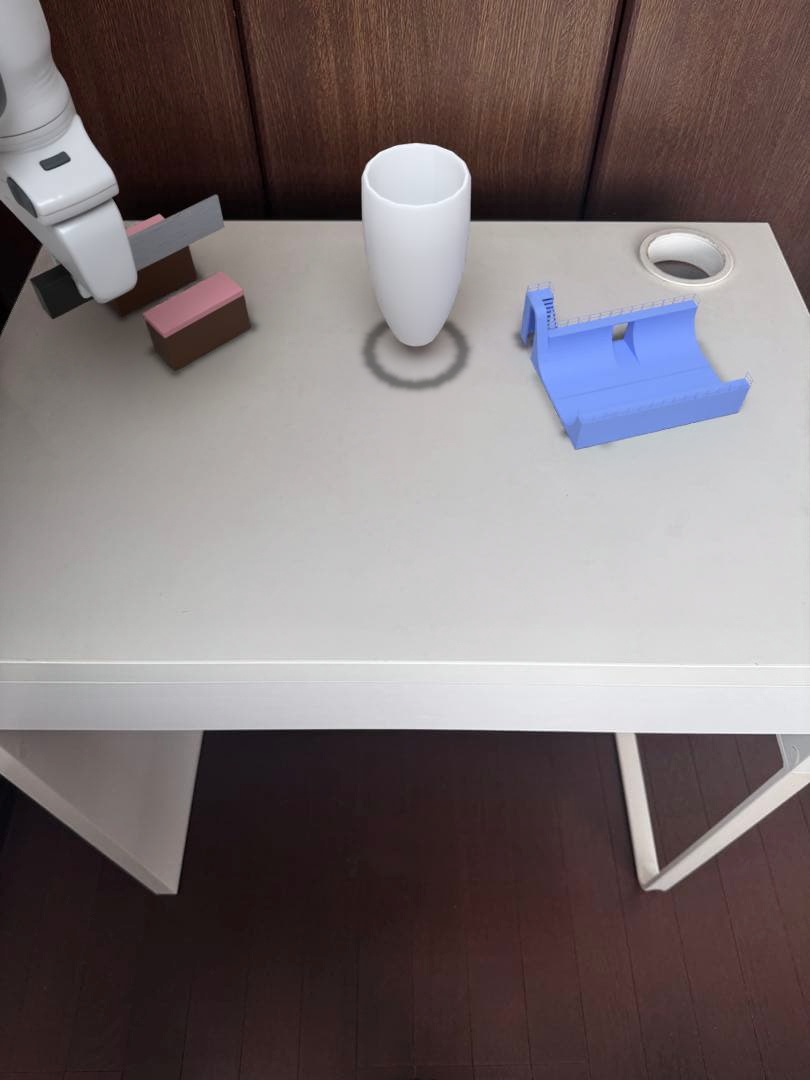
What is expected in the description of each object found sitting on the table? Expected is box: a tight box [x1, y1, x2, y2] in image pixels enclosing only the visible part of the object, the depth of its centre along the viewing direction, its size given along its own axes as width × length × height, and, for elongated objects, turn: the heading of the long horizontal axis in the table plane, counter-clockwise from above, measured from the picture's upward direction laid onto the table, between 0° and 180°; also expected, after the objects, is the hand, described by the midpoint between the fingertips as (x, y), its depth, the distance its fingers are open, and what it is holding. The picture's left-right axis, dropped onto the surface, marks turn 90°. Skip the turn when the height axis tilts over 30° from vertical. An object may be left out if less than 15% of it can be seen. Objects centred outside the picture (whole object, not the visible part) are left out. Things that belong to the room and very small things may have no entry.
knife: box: [29, 194, 225, 320], centre depth 80 cm, size 19×2×4 cm, turn 130°
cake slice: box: [142, 270, 251, 372], centre depth 94 cm, size 10×4×6 cm, turn 131°
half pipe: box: [519, 281, 754, 451], centre depth 90 cm, size 18×16×7 cm
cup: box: [361, 142, 472, 347], centre depth 86 cm, size 10×10×22 cm
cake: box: [107, 213, 198, 318], centre depth 99 cm, size 10×6×6 cm, turn 130°
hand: (80, 282), depth 78 cm, fingers closed on knife, 2 cm apart
